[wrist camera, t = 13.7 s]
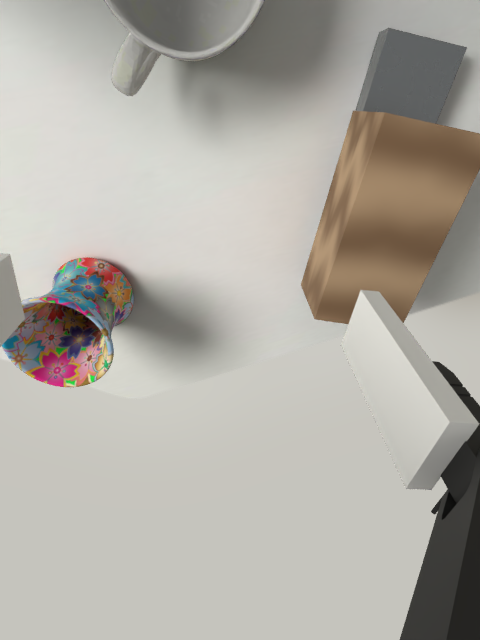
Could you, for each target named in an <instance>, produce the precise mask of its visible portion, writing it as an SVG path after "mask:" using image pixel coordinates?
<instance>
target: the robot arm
mask: <svg viewBox="0 0 480 640" xmlns="http://www.w3.org/2000/svg"><path fill="white" fill-rule="evenodd" d="M24 319H25V316H24V311H23V307H22V303H21V299H20V295H19V290H18V286H17V282H16V278H15V274H14V269H13V265H12V261H11V257H10V254H3V253H0V347H1V346H2V345H3V343H4V342H5V341H6V340H7V339H8V338H9V336H10V335H11V334H12V333H13V332H14V331H15V330H16V328H17V327H18V326H19V325H20V324H21V323H22V321H23V320H24ZM341 346H342V348H343V351H344V353H345V355H346V357H347V360H348V362H349V364H350V366H351V368H352V371H353V372H354V375H355V377H356V379H357V382H358V384H359V386H360V388H361V391H362V393H363V395H364V397H365V399H366V402H367V404H368V406H369V408H370V410H371V413H372V415H373V417H374V419H375V422H376V423H377V426H378V428H379V430H380V433H381V435H382V436H383V439H384V441H385V444H386V446H387V448H388V450H389V452H390V455H391V457H392V459H393V461H394V464H395V466H396V468H397V470H398V472H399V475H400V477H401V479H402V481H403V484H404V486H405V488H406V489H425V490H426V489H427V490H431V489H432V488H433V487H434V485H435V484H436V483H437V481H438V480H439V479H440V477H442V479H443V481H444V483H445V484H446V486H447V488H448V490H447V491H446V492H445V494H444V495H443V496H442V498H441V499H440V500H439V502H438V503H437V504H436V505H435V507H434V508H433V509H432V511H431V512H432V513H433V514H436V512H437V511H438V514H437V517H436V520H435V523H434V527H433V530H432V534H431V537H430V540H429V544H428V547H427V550H426V554H425V557H424V560H423V564H422V567H421V571H420V574H419V577H418V580H417V584H416V587H415V591H414V594H413V597H412V601H411V604H410V607H409V611H408V614H407V617H406V621H405V624H404V627H403V631H402V634H401V637H400V640H480V406H479V405H478V403H477V402H476V401H475V400H474V398H473V397H470V393H469V392H468V391H467V390H466V388H465V387H462V383H461V382H460V381H459V380H458V378H457V377H456V376H455V375H454V373H453V372H451V371H450V370H449V369H447V368H446V367H445V366H444V365H442V364H441V363H440V362H433V361H431V359H430V358H429V357H428V355H427V354H426V353H425V351H424V350H423V349H422V348H421V346H420V345H419V344H418V342H417V341H416V340H415V338H414V337H413V336H412V334H411V333H410V332H409V331H408V329H407V328H406V327H405V325H404V324H403V322H402V321H401V320H400V318H399V317H398V316H397V314H396V313H395V312H394V311H393V309H392V308H391V307H390V305H389V304H388V303H387V301H386V300H385V299H384V297H383V296H382V295H381V293H380V292H378V291H368V290H360V293H359V296H358V299H357V302H356V304H355V307H354V310H353V313H352V316H351V318H350V321H349V324H348V327H347V330H346V332H345V335H344V338H343V341H342V344H341Z"/></svg>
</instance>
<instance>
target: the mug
mask: <svg viewBox="0 0 480 640" xmlns="http://www.w3.org/2000/svg"><path fill="white" fill-rule="evenodd" d="M21 303H22V307H23V311H24V316H25V319H24V320H23V321H22V323H21V324H20V325H19V326H18V327H17V328H16V330H15V331H14V332H13V333H12V334H11V335H10V336H9V338H8V339H7V340H6V341H5V342H4V343H3V345H2V347H3V349H4V351H5V353H6V355H7V356H8V358H9V359H10V360H11V361H12V362H13V363H14V364H15V365H16V366H17V367H18V368H19V369H20V370H21V371H23V372H24V373H26V374H27V375H29V376H31V377H33V378H34V379H36V380H39V381H41V382H44V383H47V384H50V385H54V386H60V387H79V386H84V385H87V384H90V383H92V382H95V381H96V380H98V379H99V378H101V377H102V376H103V375H104V374H105V373H106V372H107V371H108V369H109V368H110V366H111V363H112V360H113V355H114V349H113V343H112V339H111V332H112V329H113V327H114V326H116V325H118V324H120V323H121V322H123V321H124V320H125V319H126V318H127V317H128V316H129V314H130V313H131V310H132V308H133V303H134V296H133V291H132V288H131V285H130V283H129V282H128V280H127V278H126V277H125V276H124V275H123V274H122V273H121V272H120V271H119V270H118V269H117V268H115V267H114V266H112V265H111V264H109V263H107V262H105V261H102V260H99V259H94V258H78V259H74V260H71V261H69V262H67V263H65V264H64V265H62V266H61V267H60V268H59V270H58V271H57V272H56V274H55V277H54V280H53V289H52V290H51V291H50V292H49V293H48V294H46V295H44V296H41V297H34V298H29V299H26V300H23V301H21Z"/></svg>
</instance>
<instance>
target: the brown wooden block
mask: <svg viewBox="0 0 480 640" xmlns="http://www.w3.org/2000/svg"><path fill="white" fill-rule="evenodd" d="M479 169H480V134H479V133H474V132H470V131H465V130H461V129H457V128H452V127H448V126H443V125H439V124H434V123H430V122H425V121H421V120H416V119H412V118H407V117H403V116H399V115H394V114H390V113H385V112H366V111H353V113H352V117H351V120H350V123H349V127H348V130H347V133H346V137H345V140H344V143H343V147H342V150H341V153H340V157H339V160H338V163H337V166H336V170H335V173H334V176H333V180H332V183H331V186H330V190H329V193H328V196H327V200H326V203H325V206H324V210H323V213H322V216H321V220H320V223H319V226H318V230H317V233H316V236H315V240H314V243H313V246H312V250H311V253H310V256H309V260H308V263H307V266H306V270H305V273H304V276H303V280H302V283H301V286H302V289H303V291H304V294H305V296H306V299H307V301H308V304H309V306H310V309H311V311H312V314H313V316H314V319H317V320H324V321H331V322H337V323H344V324H349V321H350V318H351V316H352V313H353V310H354V307H355V304H356V302H357V299H358V296H359V293H360V290H368V291H378V292H380V293H381V295H382V296H383V297H384V299H385V300H386V301H387V303H388V304H389V305H390V307H391V308H392V309H393V311H394V312H395V313H396V314H397V316H398V317H399V318H400V320H401V321H402V322H403V323H404V320H405V319H406V317H407V315H408V313H409V311H410V309H411V307H412V305H413V303H414V301H415V298H416V296H417V294H418V292H419V290H420V288H421V286H422V284H423V282H424V280H425V278H426V276H427V274H428V272H429V270H430V268H431V266H432V264H433V262H434V260H435V258H436V256H437V254H438V252H439V250H440V248H441V246H442V244H443V242H444V240H445V238H446V236H447V234H448V232H449V230H450V228H451V226H452V224H453V222H454V220H455V218H456V216H457V214H458V212H459V210H460V208H461V206H462V204H463V202H464V200H465V198H466V195H467V193H468V191H469V189H470V187H471V185H472V183H473V181H474V179H475V177H476V175H477V173H478V171H479Z"/></svg>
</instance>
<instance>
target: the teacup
mask: <svg viewBox="0 0 480 640" xmlns="http://www.w3.org/2000/svg"><path fill="white" fill-rule="evenodd" d="M104 1H105V2H106V4H107V6H108V7H109V9H110V10H111V11H112V13H113V14H114V15H115V17H116V18H117V19H118V20H119V21H120V23H121V24H122V25H123V26H124V27H125V28H126V29H127V30H128V31H129V34H128V36H127V37H126V39H125V40H124V43H123V44H122V46H121V48H120V50H119V52H118V54H117V57H116V59H115V62H114V65H113V69H112V74H111V80H112V82H113V85H114V86H115V87H116V88H117V89H118V90H119V91H120V92H122V93H123V94H125V95H127V96H133V95H135V94H136V93H137V92H138V91H139V89H140V88H141V86H142V85H143V83H144V82H145V80H146V79H147V77H148V75H149V73H150V71H151V69H152V67H153V66H154V64H155V62H156V60H157V59H158V58H159V56H160V55H161V54H163V55H165V56H168V57H171V58H174V59H178V60H183V61H200V60H205V59H209V58H211V57H214V56H216V55H218V54H220V53H222V52H223V51H225V50H226V49H228V48H229V47H230V46H232V45H233V44H234V43H235V42H236V41H237V40H238V39H239V38H241V37H242V35H243V34H244V33H245V32H246V31H247V30H248V28H249V27H250V25H251V24H252V23H253V21H254V20H255V18H256V16H257V15H258V13H259V11H260V9H261V7H262V5H263V3H264V0H104Z"/></svg>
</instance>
